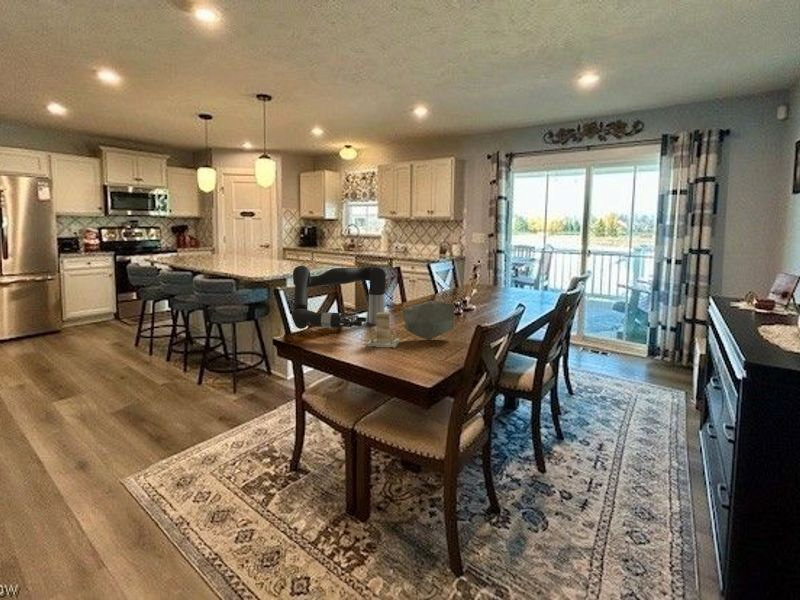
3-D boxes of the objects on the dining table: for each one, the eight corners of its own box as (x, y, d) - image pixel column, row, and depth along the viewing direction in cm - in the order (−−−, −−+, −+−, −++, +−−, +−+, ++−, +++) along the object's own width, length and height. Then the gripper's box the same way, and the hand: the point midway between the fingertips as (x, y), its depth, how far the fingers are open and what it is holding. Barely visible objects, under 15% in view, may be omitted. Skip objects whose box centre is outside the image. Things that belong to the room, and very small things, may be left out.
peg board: (372, 339, 220) (372, 329, 219) (399, 340, 217) (399, 330, 216) (366, 346, 208) (366, 335, 207) (395, 347, 206) (395, 337, 205)
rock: (403, 342, 215) (403, 302, 212) (401, 338, 221) (401, 300, 218) (455, 340, 219) (456, 301, 215) (452, 337, 225) (453, 299, 221)
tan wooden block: (378, 339, 215) (378, 312, 212) (390, 340, 214) (390, 312, 211) (376, 341, 211) (376, 313, 208) (388, 342, 210) (388, 314, 207)
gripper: (327, 315, 207) (360, 317, 204) (336, 309, 221) (367, 311, 218) (327, 331, 208) (360, 332, 206) (336, 324, 222) (367, 325, 220)
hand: (363, 321), depth 212 cm, fingers open, 8 cm apart
